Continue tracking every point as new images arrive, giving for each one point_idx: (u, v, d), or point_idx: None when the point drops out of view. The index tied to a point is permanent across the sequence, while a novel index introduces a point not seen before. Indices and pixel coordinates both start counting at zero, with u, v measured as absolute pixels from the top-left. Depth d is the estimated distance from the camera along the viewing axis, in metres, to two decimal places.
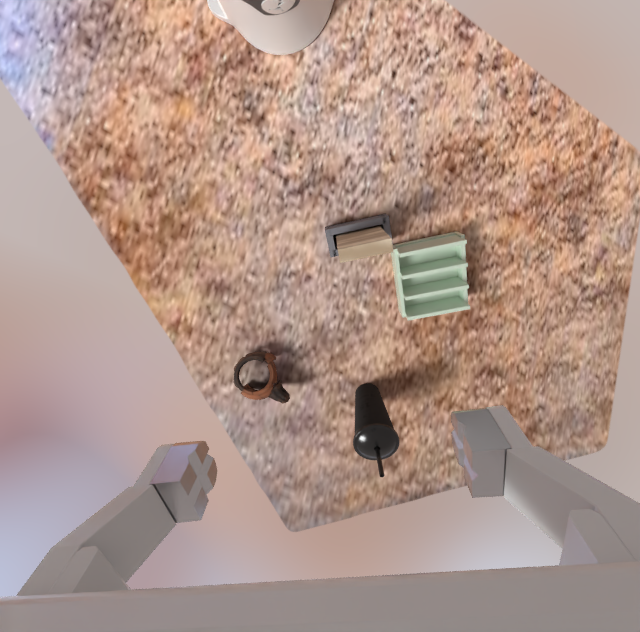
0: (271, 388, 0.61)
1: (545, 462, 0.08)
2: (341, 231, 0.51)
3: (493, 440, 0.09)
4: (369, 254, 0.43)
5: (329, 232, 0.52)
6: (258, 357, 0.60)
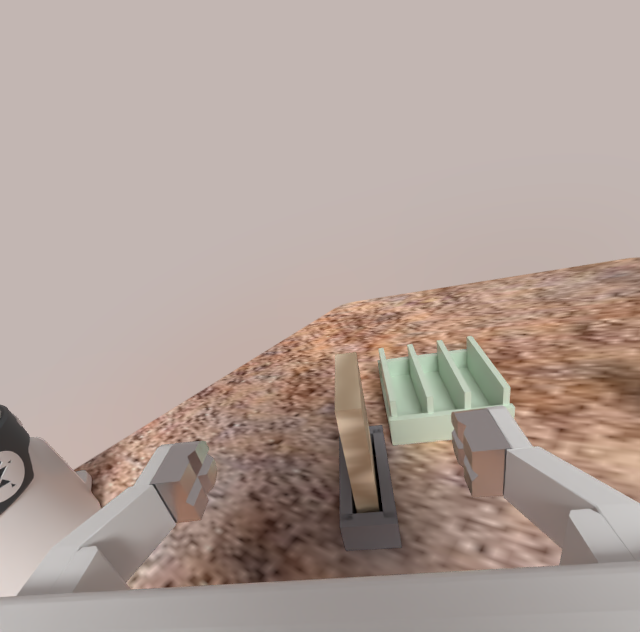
0: None
1: (545, 462, 0.08)
2: (348, 496, 0.27)
3: (493, 440, 0.09)
4: (354, 374, 0.25)
5: (346, 519, 0.25)
6: None
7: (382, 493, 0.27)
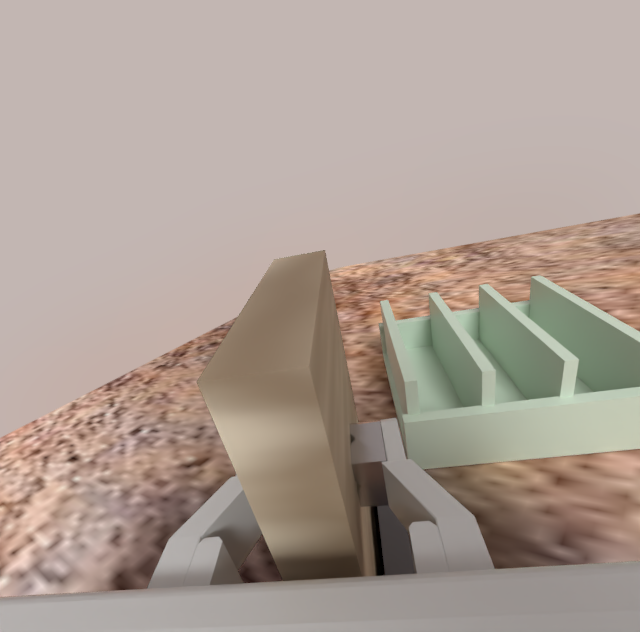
0: None
1: (409, 475, 0.08)
2: None
3: (373, 452, 0.09)
4: (310, 281, 0.08)
5: None
6: None
7: None
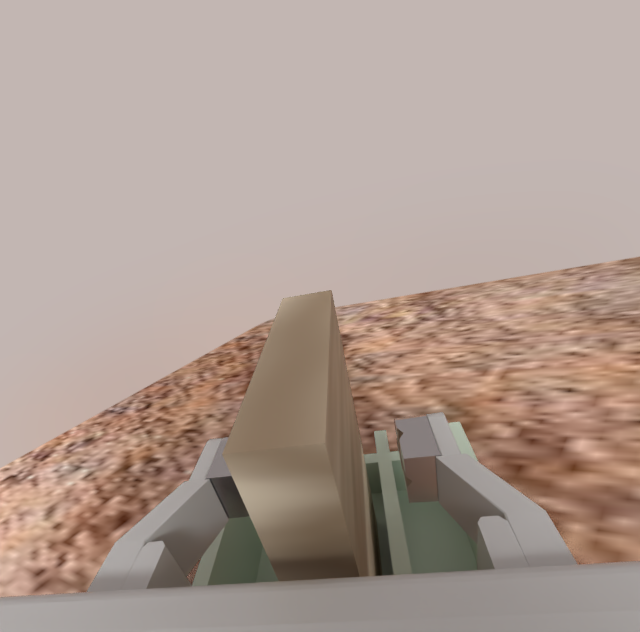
0: None
1: (468, 469, 0.08)
2: None
3: (425, 447, 0.09)
4: (320, 332, 0.09)
5: None
6: None
7: None
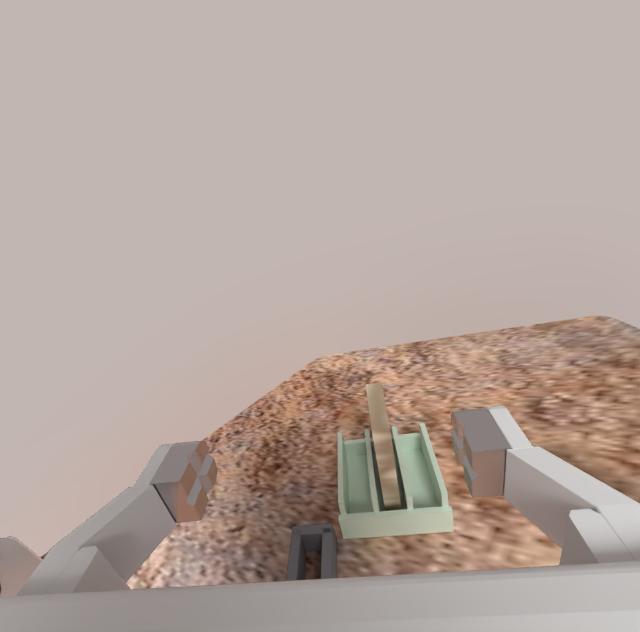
0: None
1: (545, 462, 0.08)
2: None
3: (493, 440, 0.09)
4: (382, 400, 0.35)
5: None
6: None
7: None
